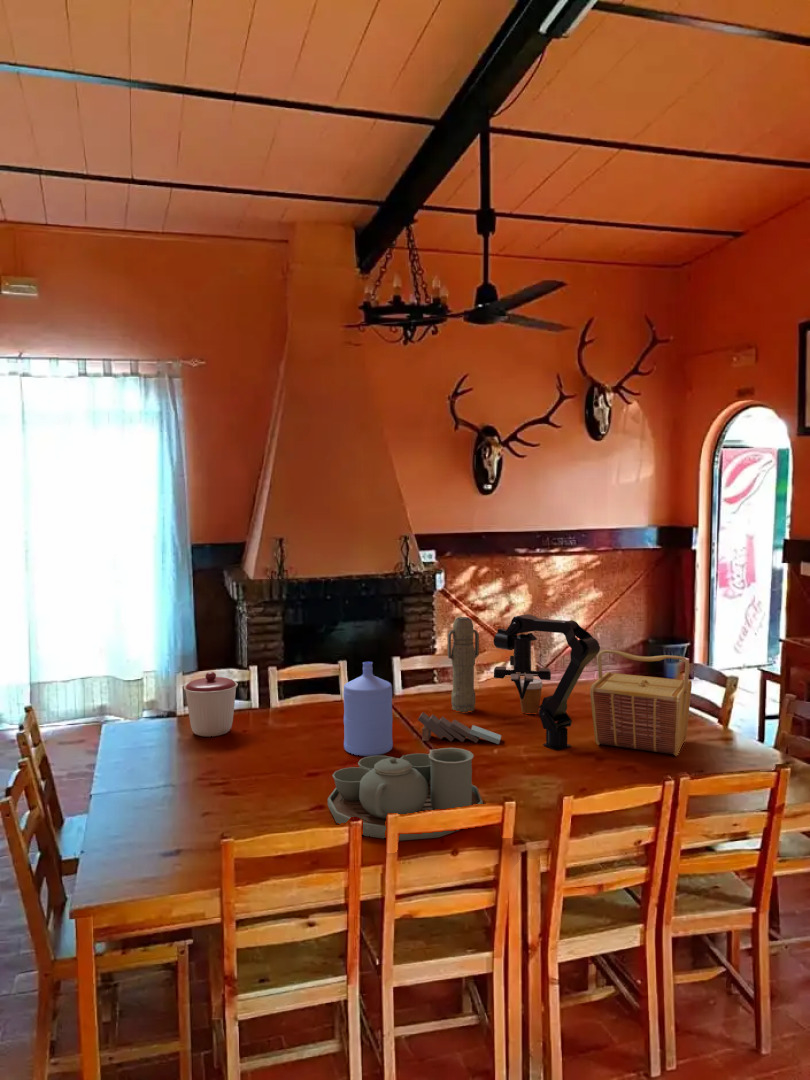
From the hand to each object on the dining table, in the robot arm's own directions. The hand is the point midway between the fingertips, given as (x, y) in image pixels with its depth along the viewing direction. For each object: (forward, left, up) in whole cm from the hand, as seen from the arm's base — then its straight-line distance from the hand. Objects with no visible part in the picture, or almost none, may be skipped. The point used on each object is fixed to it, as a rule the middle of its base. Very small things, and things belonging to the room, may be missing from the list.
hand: (522, 698), depth 264 cm
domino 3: (+8, +18, -12) cm, 23 cm away
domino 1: (+13, +23, -12) cm, 29 cm away
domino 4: (+5, +15, -12) cm, 20 cm away
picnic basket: (-28, -26, -13) cm, 41 cm away
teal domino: (0, +10, -12) cm, 16 cm away
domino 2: (+11, +20, -12) cm, 26 cm away
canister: (+65, +84, -13) cm, 107 cm away
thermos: (+37, -4, -13) cm, 40 cm away
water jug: (+19, +49, -13) cm, 54 cm away
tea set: (-27, +66, -14) cm, 73 cm away
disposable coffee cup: (+20, -22, -13) cm, 33 cm away
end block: (+17, +27, -13) cm, 35 cm away
